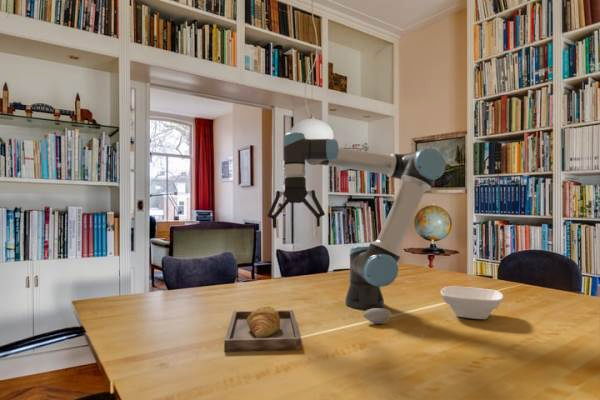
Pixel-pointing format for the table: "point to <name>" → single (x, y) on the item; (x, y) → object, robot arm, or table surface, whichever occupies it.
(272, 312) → the croissant
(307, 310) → the table surface
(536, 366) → the table surface
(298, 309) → the table surface
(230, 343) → the tray
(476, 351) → the table surface
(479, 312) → the bowl
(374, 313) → the stone
